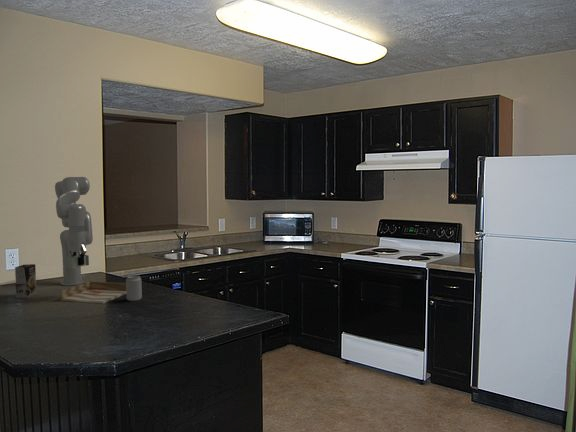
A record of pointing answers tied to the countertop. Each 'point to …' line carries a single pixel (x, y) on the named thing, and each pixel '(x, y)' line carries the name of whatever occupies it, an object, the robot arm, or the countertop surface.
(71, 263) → the block
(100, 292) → the corner guide
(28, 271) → the coffee box
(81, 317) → the countertop surface
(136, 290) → the can
